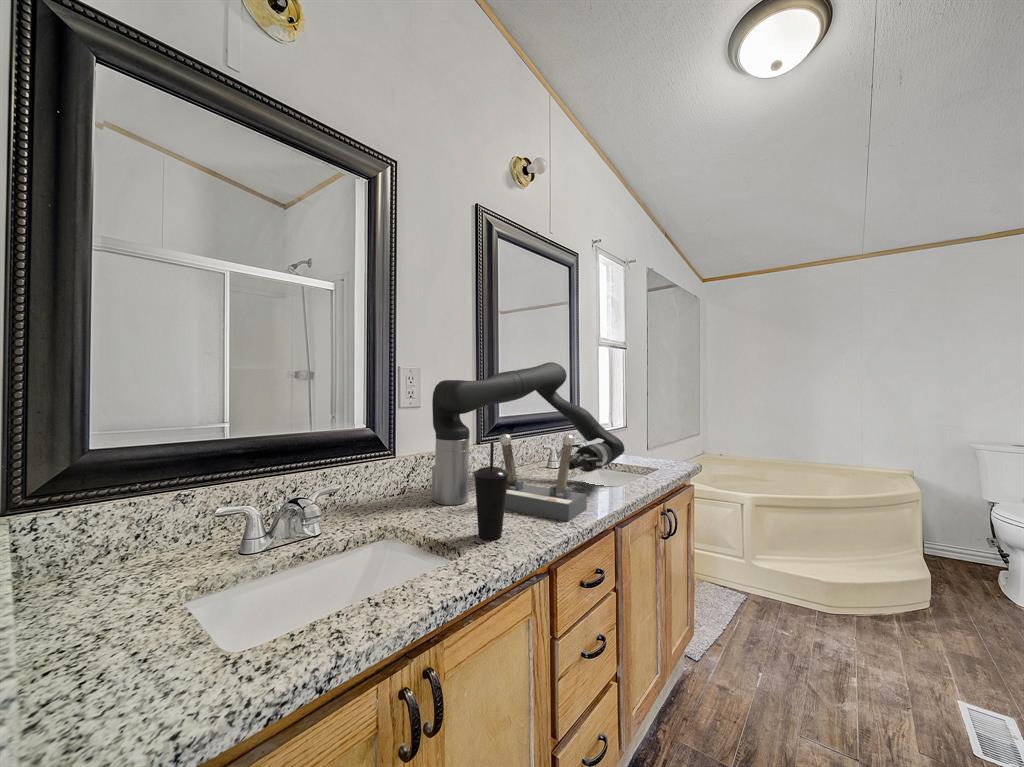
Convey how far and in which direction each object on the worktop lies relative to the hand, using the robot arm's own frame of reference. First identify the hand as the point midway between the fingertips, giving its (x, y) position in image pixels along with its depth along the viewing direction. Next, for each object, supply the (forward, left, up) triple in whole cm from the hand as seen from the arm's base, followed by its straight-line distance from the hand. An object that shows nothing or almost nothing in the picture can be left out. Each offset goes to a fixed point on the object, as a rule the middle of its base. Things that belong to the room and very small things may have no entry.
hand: (569, 465), depth 115 cm
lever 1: (-14, -6, -6) cm, 16 cm away
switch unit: (-7, -6, -11) cm, 14 cm away
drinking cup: (-5, -31, -11) cm, 33 cm away
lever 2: (0, -6, -6) cm, 8 cm away
